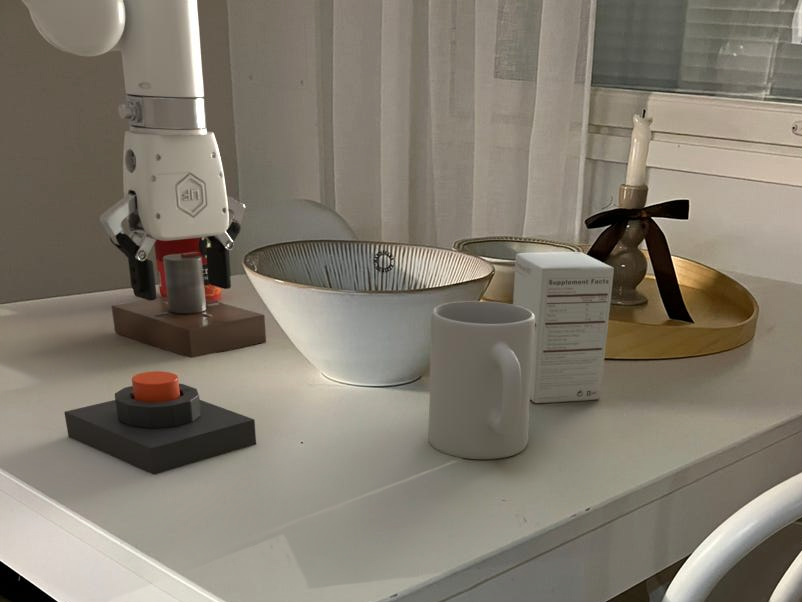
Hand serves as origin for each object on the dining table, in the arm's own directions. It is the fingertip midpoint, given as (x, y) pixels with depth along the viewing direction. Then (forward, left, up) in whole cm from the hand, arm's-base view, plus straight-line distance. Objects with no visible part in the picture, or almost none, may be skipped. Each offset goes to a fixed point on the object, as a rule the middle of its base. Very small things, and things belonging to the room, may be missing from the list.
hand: (183, 292), depth 112 cm
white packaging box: (+40, +14, -5) cm, 43 cm away
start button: (+26, -22, -1) cm, 34 cm away
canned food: (-16, +12, -5) cm, 21 cm away
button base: (+26, -22, -5) cm, 34 cm away
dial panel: (0, 0, -5) cm, 5 cm away
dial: (0, 0, -2) cm, 2 cm away
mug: (+46, -4, -5) cm, 47 cm away
